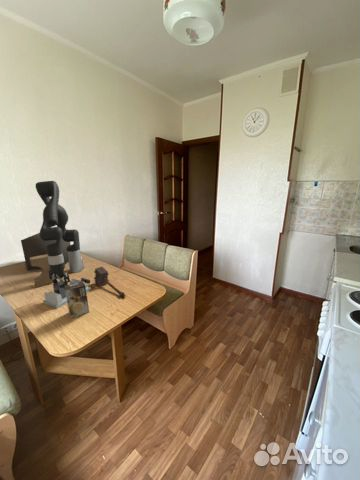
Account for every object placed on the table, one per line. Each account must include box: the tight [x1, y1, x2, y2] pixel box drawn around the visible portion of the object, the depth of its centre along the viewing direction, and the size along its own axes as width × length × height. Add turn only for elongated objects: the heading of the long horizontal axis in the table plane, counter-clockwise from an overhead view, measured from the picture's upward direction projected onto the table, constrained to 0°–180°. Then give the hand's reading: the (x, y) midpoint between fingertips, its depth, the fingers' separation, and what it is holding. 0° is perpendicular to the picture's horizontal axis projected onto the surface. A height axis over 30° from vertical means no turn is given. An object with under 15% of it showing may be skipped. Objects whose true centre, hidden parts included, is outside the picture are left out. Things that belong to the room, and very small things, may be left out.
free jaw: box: [69, 277, 91, 287], centre depth 130 cm, size 8×11×5 cm
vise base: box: [42, 285, 91, 309], centre depth 122 cm, size 23×12×6 cm, turn 156°
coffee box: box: [64, 280, 90, 319], centre depth 105 cm, size 9×6×16 cm
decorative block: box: [29, 254, 53, 289], centre depth 136 cm, size 11×6×20 cm, turn 130°
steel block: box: [52, 280, 66, 299], centre depth 118 cm, size 5×5×9 cm
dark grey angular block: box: [20, 232, 72, 271], centre depth 171 cm, size 25×25×25 cm
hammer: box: [93, 266, 126, 299], centre depth 131 cm, size 7×33×10 cm, turn 48°
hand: (61, 287), depth 118 cm, fingers open, 8 cm apart
